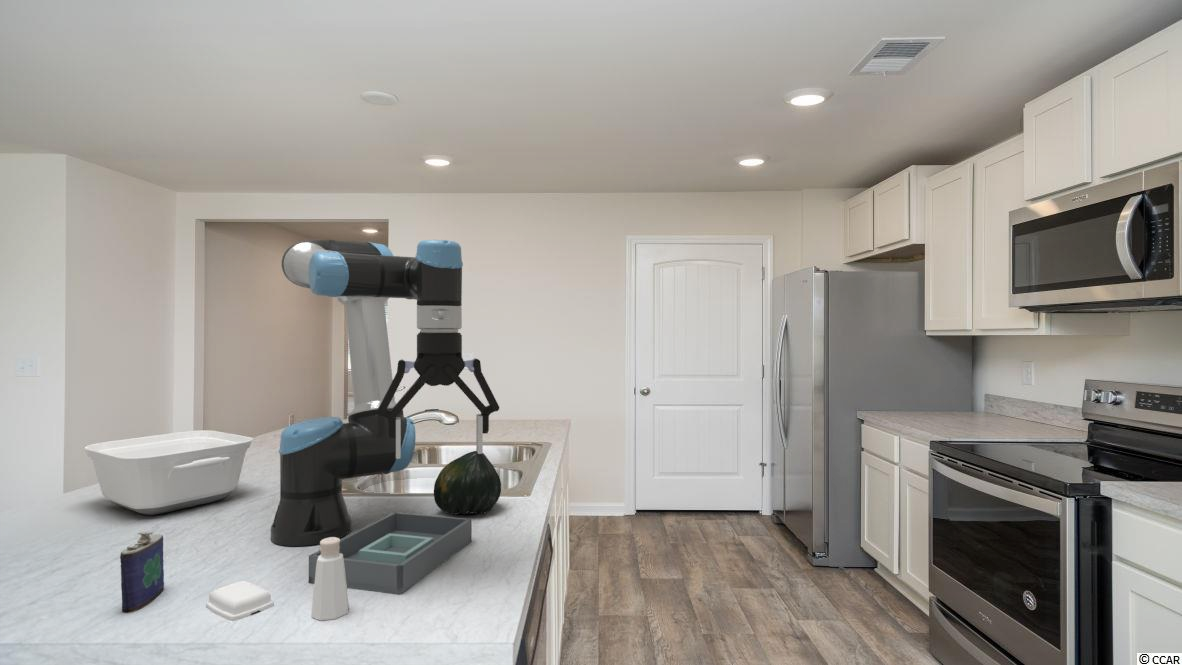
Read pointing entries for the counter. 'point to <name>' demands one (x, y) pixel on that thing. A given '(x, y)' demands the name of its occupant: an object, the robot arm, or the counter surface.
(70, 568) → the counter surface
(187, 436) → the white plastic tub
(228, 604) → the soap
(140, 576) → the flask
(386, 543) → the bin
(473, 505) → the squash
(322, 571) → the salt shaker
